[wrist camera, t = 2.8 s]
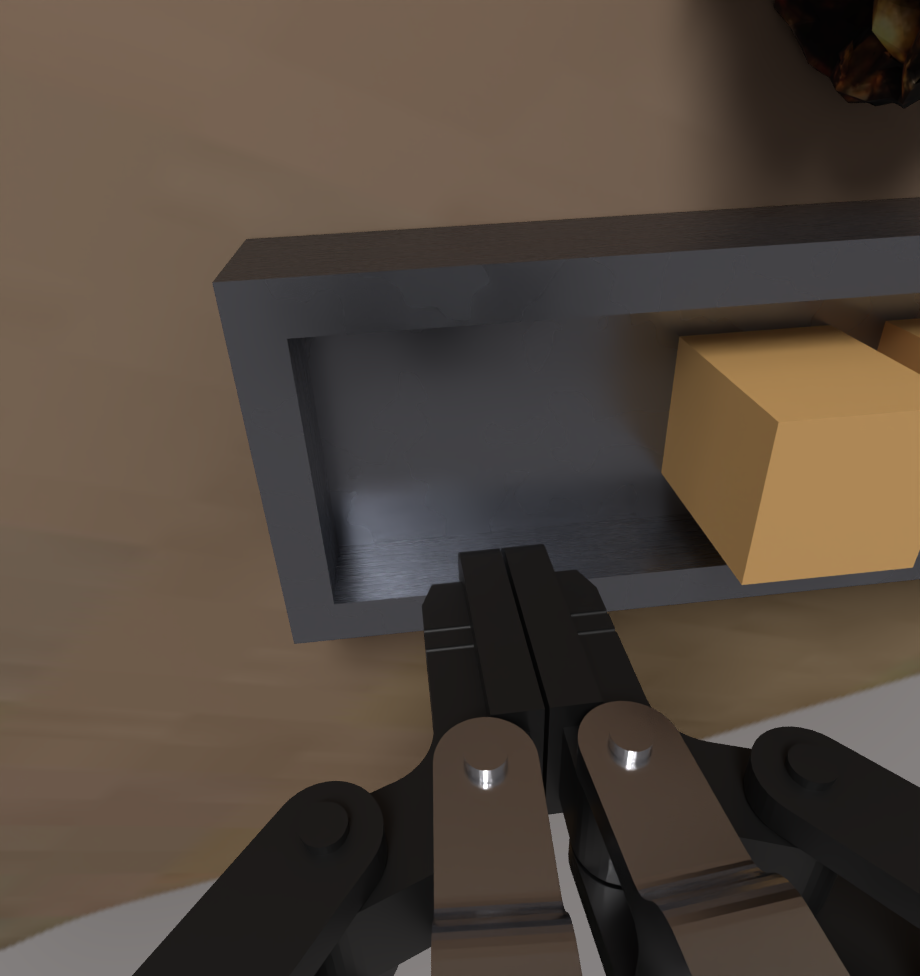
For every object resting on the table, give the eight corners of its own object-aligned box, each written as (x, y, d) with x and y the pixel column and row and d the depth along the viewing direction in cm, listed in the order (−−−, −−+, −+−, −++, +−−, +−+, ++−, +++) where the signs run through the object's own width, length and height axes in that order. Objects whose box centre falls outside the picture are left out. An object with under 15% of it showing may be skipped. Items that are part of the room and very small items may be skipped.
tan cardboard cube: (830, 325, 18) (975, 405, 13) (796, 460, 20) (912, 567, 15) (679, 336, 17) (778, 422, 13) (661, 472, 19) (741, 585, 15)
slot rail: (1130, 184, 18) (1306, 209, 15) (997, 487, 23) (1106, 559, 20) (245, 239, 16) (211, 282, 13) (307, 552, 21) (294, 643, 18)
